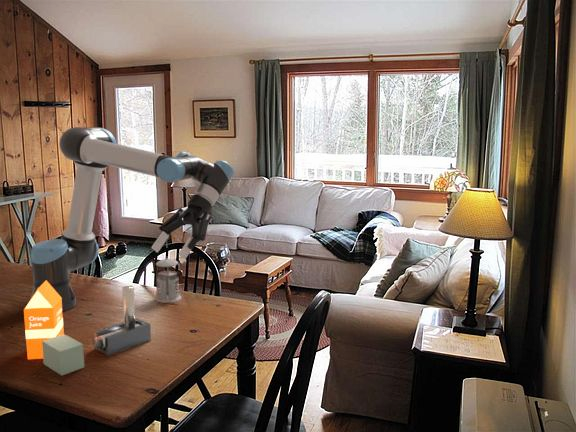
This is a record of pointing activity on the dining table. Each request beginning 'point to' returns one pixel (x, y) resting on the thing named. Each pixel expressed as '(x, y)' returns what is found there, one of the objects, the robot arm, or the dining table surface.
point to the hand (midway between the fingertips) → (167, 253)
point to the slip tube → (128, 317)
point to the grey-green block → (63, 354)
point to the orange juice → (42, 319)
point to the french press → (167, 282)
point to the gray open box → (124, 337)
